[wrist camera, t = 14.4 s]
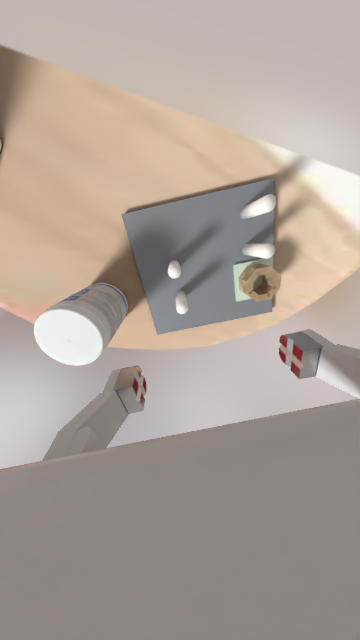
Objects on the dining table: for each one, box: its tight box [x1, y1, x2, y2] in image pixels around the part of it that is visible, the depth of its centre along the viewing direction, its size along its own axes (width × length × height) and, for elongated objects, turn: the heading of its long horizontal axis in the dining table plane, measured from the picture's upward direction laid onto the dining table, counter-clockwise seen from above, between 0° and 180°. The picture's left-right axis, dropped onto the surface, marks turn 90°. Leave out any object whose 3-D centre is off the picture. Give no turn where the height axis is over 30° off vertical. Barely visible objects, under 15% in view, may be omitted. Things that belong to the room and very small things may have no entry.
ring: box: [238, 264, 281, 302], centre depth 32 cm, size 6×6×4 cm
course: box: [122, 178, 276, 335], centre depth 30 cm, size 24×26×9 cm
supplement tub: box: [34, 283, 128, 365], centre depth 30 cm, size 10×10×15 cm
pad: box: [233, 256, 274, 302], centre depth 34 cm, size 8×8×1 cm
